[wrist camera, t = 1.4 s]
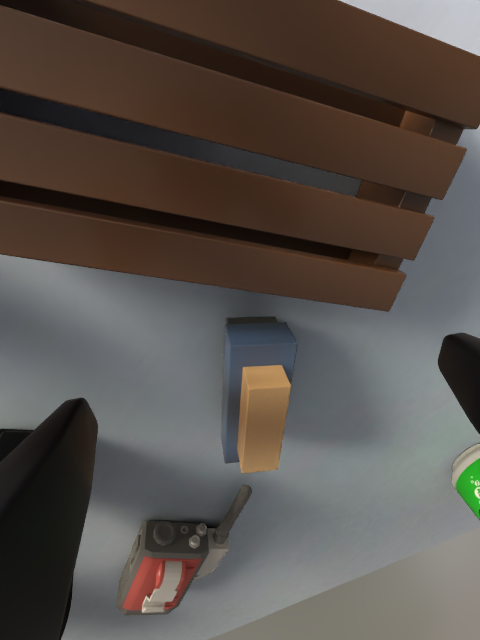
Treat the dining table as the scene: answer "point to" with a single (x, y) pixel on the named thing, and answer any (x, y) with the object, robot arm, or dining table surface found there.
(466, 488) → the soda can
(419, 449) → the dining table surface
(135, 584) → the walkie-talkie
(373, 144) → the shoe rack
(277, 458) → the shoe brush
